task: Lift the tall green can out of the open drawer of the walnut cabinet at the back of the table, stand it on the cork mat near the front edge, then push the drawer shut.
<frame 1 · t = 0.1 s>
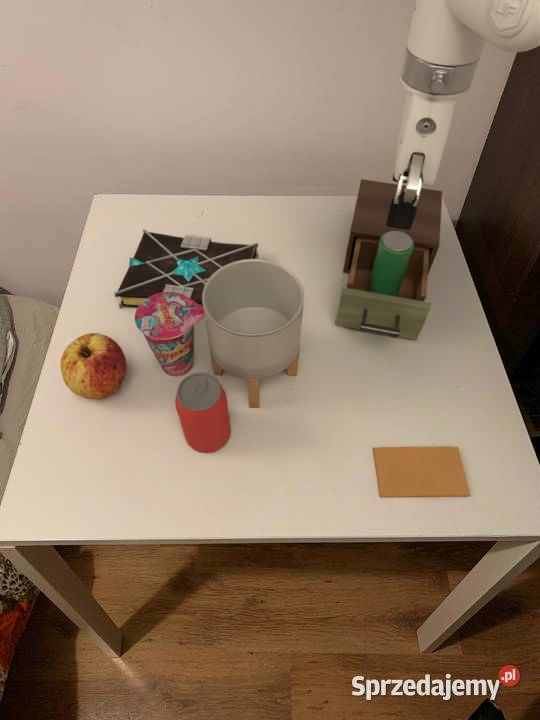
hand: (400, 203, 66), 22 cm above the table, tool pointing down, fingers open, 9 cm apart
drawer: (383, 295, 80), point 5 cm above the table, slide at 12.0 cm, touching green can
apple: (103, 386, 75), on the table
beer can: (208, 434, 71), on the table
green can: (381, 294, 83), point 2 cm above the table, touching drawer
mat: (419, 472, 67), on the table
planter: (255, 372, 77), on the table
cabinet: (386, 252, 92), on the table
book: (190, 282, 88), on the table
cup: (180, 362, 78), on the table
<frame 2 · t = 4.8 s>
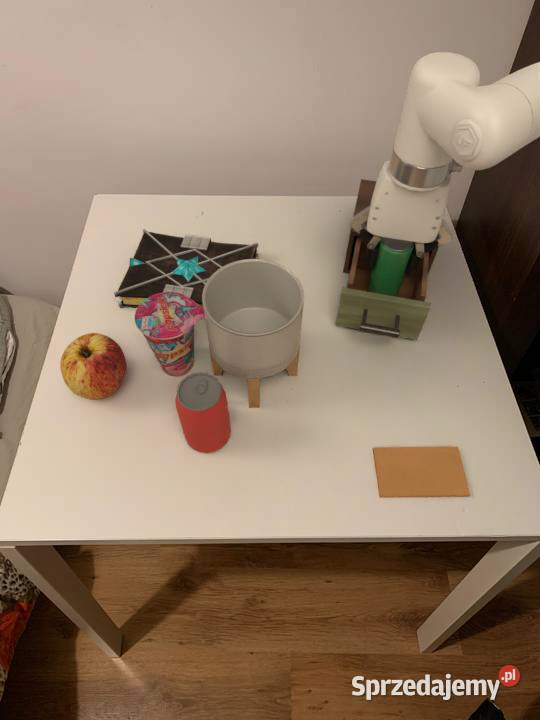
hand: (390, 265, 78), 9 cm above the table, tool pointing down, fingers closed on green can, 5 cm apart
green can: (381, 294, 83), point 2 cm above the table, touching drawer, gripper
everything else where it was.
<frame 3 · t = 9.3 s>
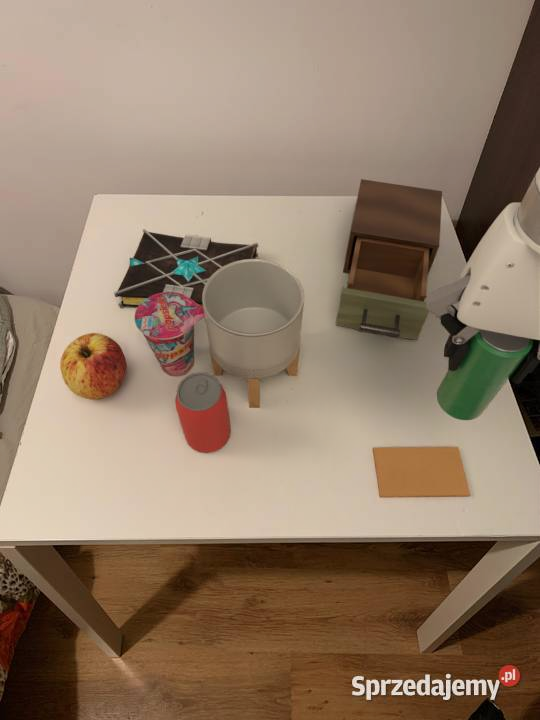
hand: (483, 364, 48), 25 cm above the table, tool pointing down, fingers closed on green can, 5 cm apart
drawer: (383, 295, 80), point 5 cm above the table, slide at 12.0 cm
green can: (460, 399, 53), point 18 cm above the table, touching gripper
everything else where it was.
when the fingers open (7 cm above the table, at t = 13.6 s): green can stays where it is, resting on mat.
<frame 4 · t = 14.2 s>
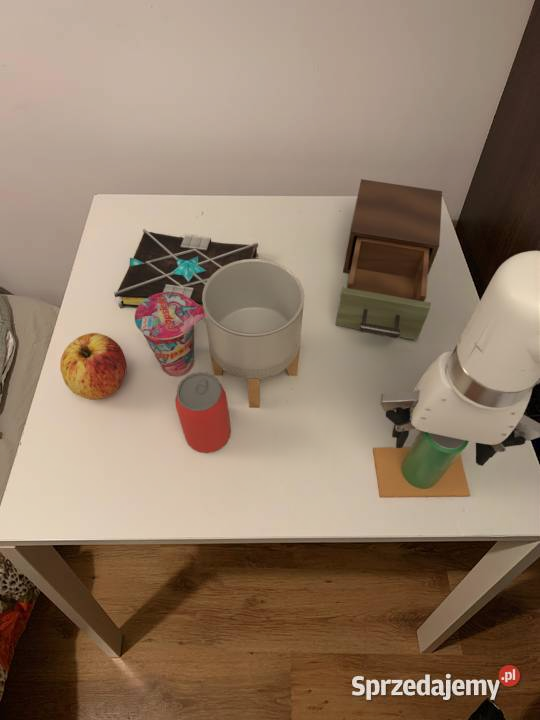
hand: (438, 445, 60), 9 cm above the table, tool pointing down, fingers open, 9 cm apart
green can: (420, 470, 67), point 1 cm above the table, touching mat
everything else where it was.
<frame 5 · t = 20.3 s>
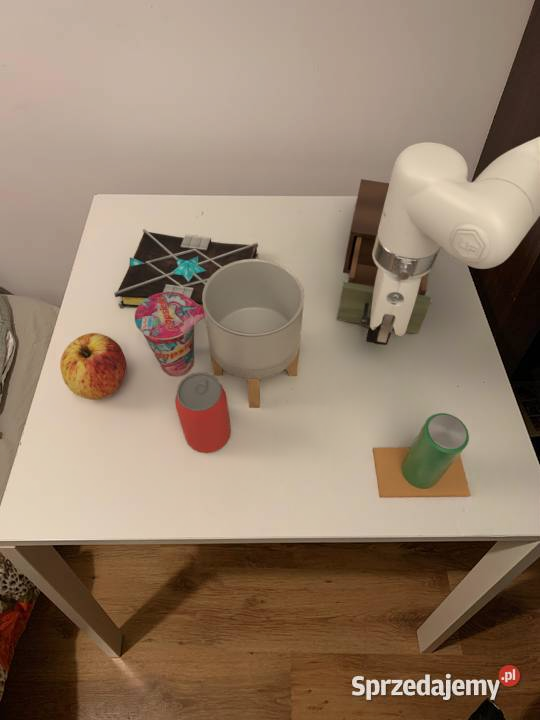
hand: (376, 339, 75), 5 cm above the table, tool pointing down, fingers closed
drawer: (384, 290, 80), point 5 cm above the table, slide at 10.7 cm, touching gripper
everything else where it was.
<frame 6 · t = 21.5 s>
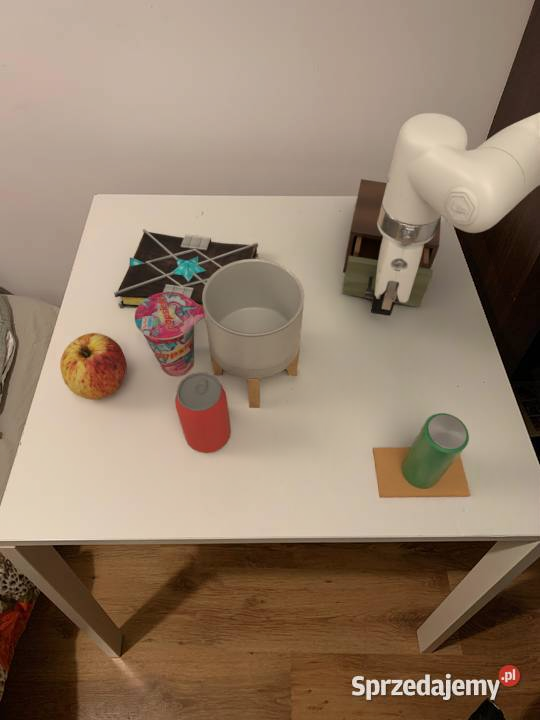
hand: (380, 310, 78), 5 cm above the table, tool pointing down, fingers closed
drawer: (387, 265, 84), point 5 cm above the table, slide at 4.8 cm, touching gripper
everything else where it was.
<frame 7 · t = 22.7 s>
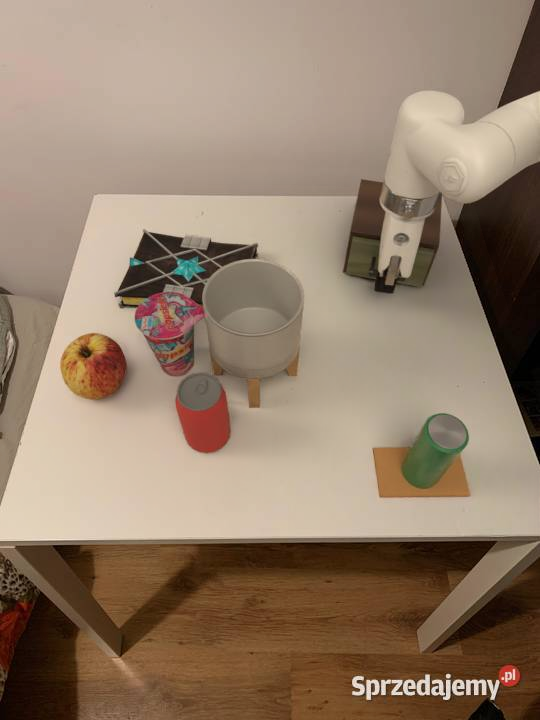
hand: (383, 288, 81), 5 cm above the table, tool pointing down, fingers closed
drawer: (390, 246, 86), point 5 cm above the table, slide at 0.0 cm, touching cabinet, gripper
everything else where it was.
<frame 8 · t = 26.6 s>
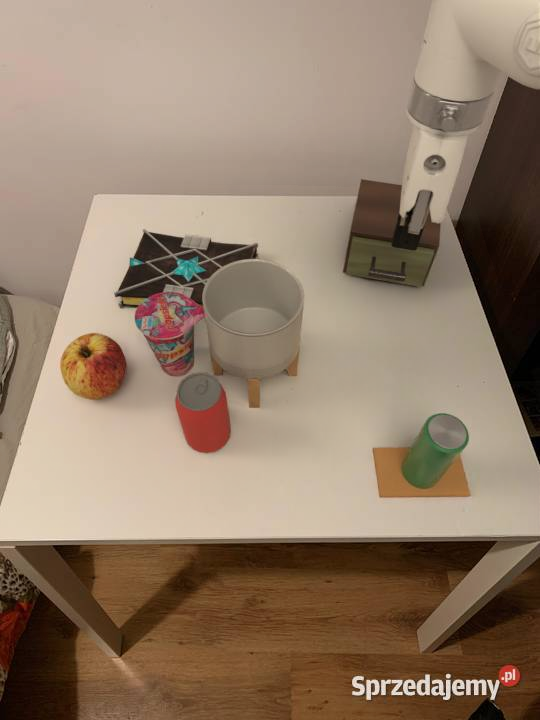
hand: (404, 244, 63), 21 cm above the table, tool pointing down, fingers closed
drawer: (390, 246, 86), point 5 cm above the table, slide at 0.0 cm, touching cabinet
everything else where it was.
at the end: green can inside the target area on the mat (0.0 cm from its centre), point 0.6 cm above the mat's base; green can tilted 0°; drawer slide at 0.0 cm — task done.
